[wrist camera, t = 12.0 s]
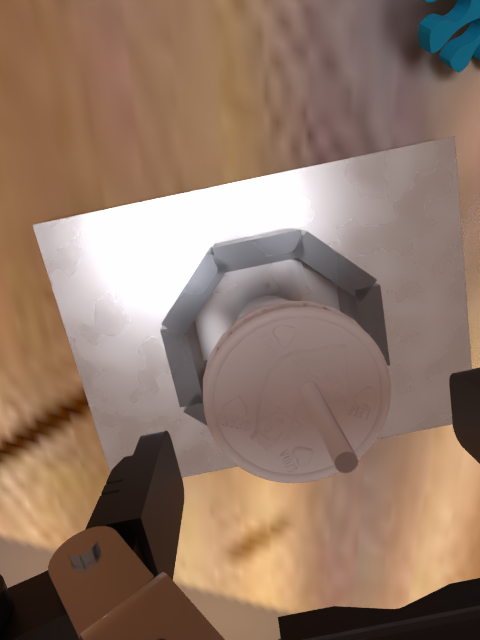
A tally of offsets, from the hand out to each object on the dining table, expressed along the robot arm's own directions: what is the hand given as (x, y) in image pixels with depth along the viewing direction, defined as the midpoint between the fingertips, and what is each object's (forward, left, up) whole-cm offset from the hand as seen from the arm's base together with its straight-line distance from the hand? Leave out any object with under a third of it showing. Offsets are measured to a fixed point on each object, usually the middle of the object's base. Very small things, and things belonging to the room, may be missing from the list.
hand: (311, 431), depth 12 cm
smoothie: (0, 0, -12) cm, 12 cm away
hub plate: (0, 0, -13) cm, 13 cm away
